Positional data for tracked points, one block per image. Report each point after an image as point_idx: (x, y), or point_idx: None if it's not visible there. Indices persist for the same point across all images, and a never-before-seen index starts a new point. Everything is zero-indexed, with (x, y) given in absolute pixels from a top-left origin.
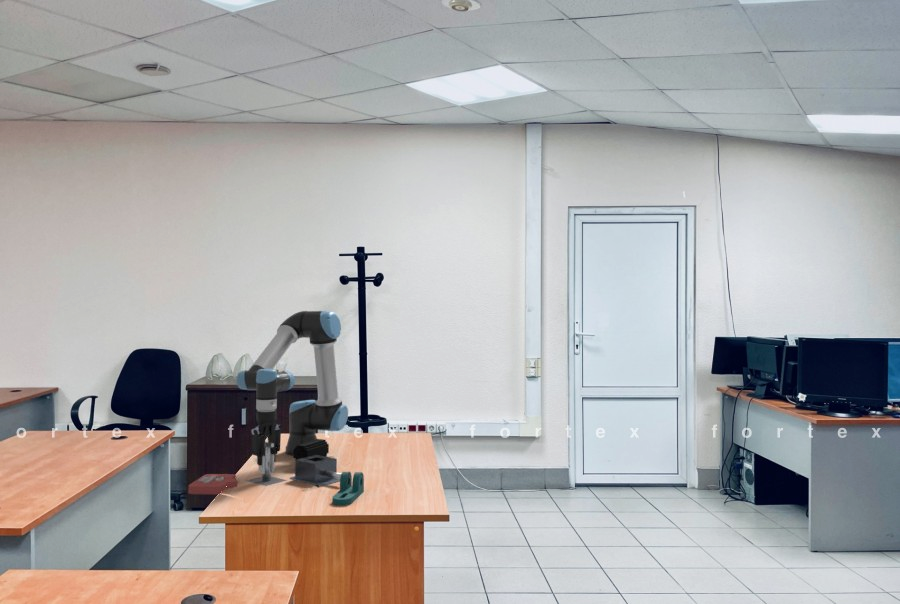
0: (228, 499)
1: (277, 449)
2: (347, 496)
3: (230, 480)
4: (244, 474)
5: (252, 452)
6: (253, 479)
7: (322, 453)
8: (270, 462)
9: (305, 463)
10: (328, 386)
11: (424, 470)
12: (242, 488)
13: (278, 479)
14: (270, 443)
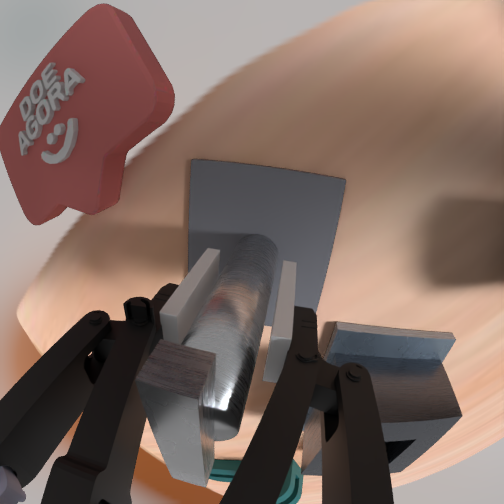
0: (52, 283)
1: (320, 412)
2: (221, 478)
3: (77, 193)
4: (322, 27)
5: (78, 322)
6: (234, 178)
7: None
8: (274, 315)
9: (316, 449)
10: None
11: (476, 450)
12: (124, 231)
13: (302, 294)
14: (176, 475)
